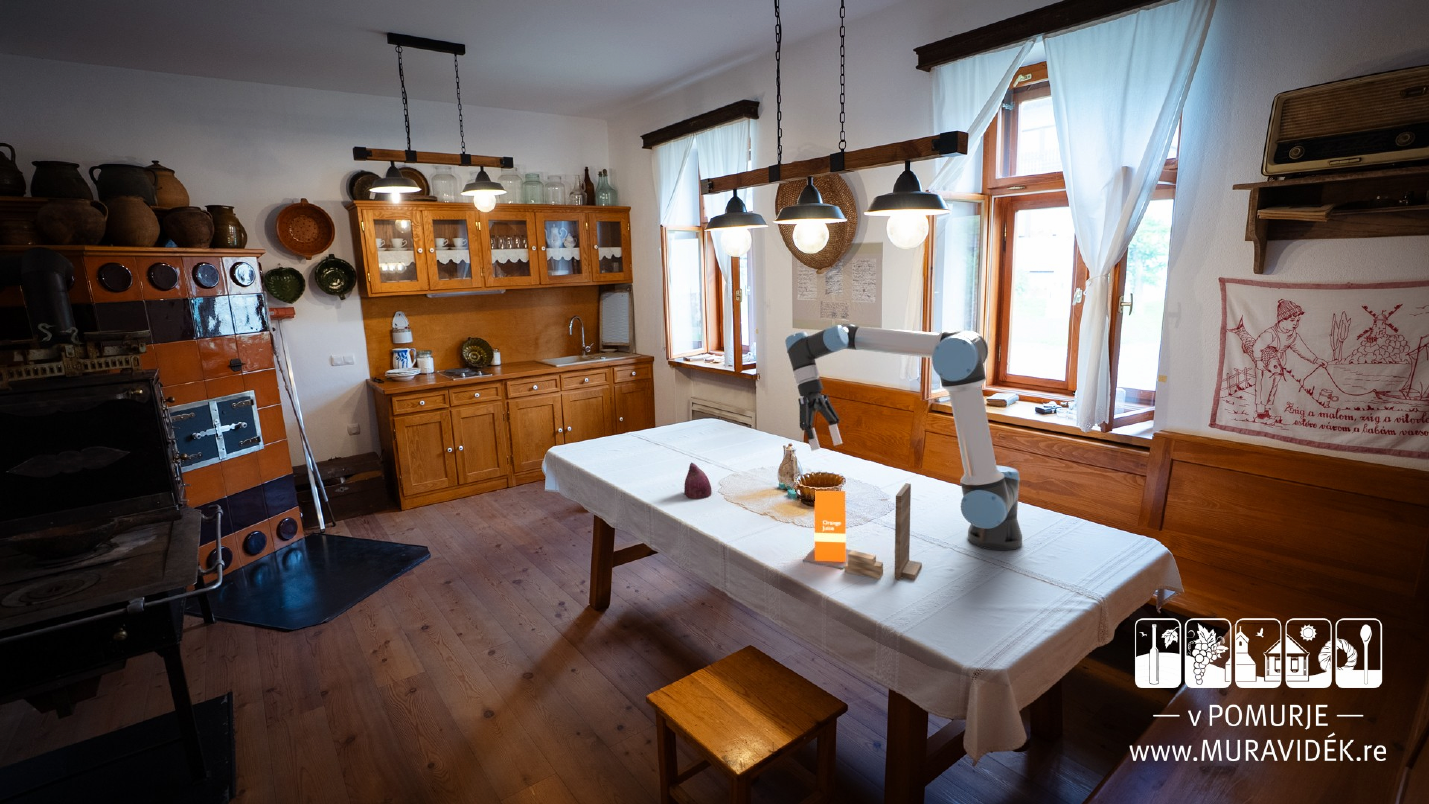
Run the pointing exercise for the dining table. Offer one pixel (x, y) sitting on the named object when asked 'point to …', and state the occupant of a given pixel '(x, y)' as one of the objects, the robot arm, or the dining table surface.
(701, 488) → the vegetable
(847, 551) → the grey mat
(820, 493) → the orange juice
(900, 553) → the walnut rack
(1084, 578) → the dining table surface
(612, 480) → the dining table surface
